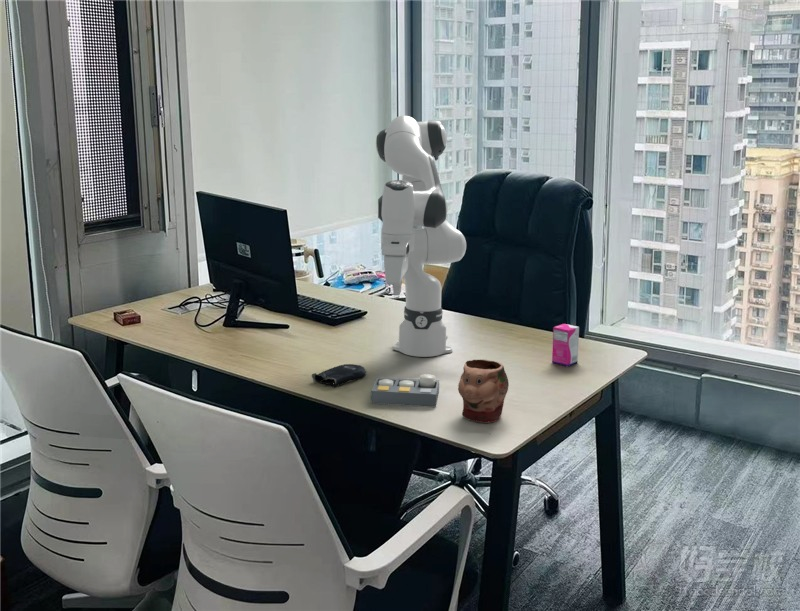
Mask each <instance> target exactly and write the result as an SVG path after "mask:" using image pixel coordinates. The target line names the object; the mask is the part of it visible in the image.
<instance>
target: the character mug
mask: <svg viewBox="0 0 800 611" xmlns="http://www.w3.org/2000/svg"><path fill="white" fill-rule="evenodd" d="M509 384H510V383H509V377H508V374H507V373H506V370H505V366H504V365H503V363H501V362H499V361H495V360H489V359H483V358H482V359H470V360H467V361H466V362H464V366H463V371H462V373H461V376H460V379H459V381H458V385H457V386H458V387H457V390H458V393H459V395H460V397H461V398H462V401H463V402H462V403H463V404H462V406H463V408H462V414H461V415H462V416H463V418H465V419H466V420H469V421H471V422H472V421H473V422H476V423H486V424H487V423H489V424H490V423H495V422H497V421H498V420H500V417H501V416H502V413H503V408H504V402H505V399H506V396H507V394H508V392H509Z"/></svg>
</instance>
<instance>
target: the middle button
mask: <svg viewBox="0 0 800 611" xmlns="http://www.w3.org/2000/svg"><path fill="white" fill-rule="evenodd" d="M399 386H403V387H414V382H413V381H409V380H404V381H400V382H399Z"/></svg>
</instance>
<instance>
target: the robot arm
mask: <svg viewBox="0 0 800 611" xmlns="http://www.w3.org/2000/svg"><path fill="white" fill-rule="evenodd" d="M447 141H448V134H447V131H446V129H445V127H444V125H443V123H442V122H440V120H437V119H436V120H435V119H428V120H426V121H417V120H416V119H415V118H413V117H412V116H409V115H399V116H396V117H395V118H393V119H392V121H390V123H389V125H388V127H386V128H385V129H382V130H381V131H379V132H378V133H377V135H376V141H375V149H376V153H377V154H378V156H379V159H380V160H382V161H383V162H385V163H386V165H387V166H388V167H389V168H390V170H392V171H393V172H394V173H396V174H399V175H402V178H401V179H396V180H395V179H394V180H389V181H387V182H386V183H385V184H384V186H383V192H382V195H381V196H380V197H379V198H378V200H377V206H378V207H377V208H378V211H377V212H378V213H377V218H378V219H379V220H380V221H381V223H382V225H381V226H382V227H381V231H380V232H381V235H380V236H381V239H380V241H381V242H380V244H381V245H380V246H381V247H380V250H381V255H382V256H383V263H384V264H383V265H384V279H385V283H386V285H387V286H388V285H390V286H392V291H393V292H392V294H393V295H394V296H400V295H401V292H402V283H403V282H404V288H405V305H404V310H403V318H404V319H403V320H402V321H401V323H399V324H398V325H399V326H398V341H397V342H395V344H394V345H392V350H395V351H397V352H400V353H402V354H404V355H407V356H411V357H419V358H420V357H422V358H423V357H424V358H427V357H437V356H440V355H443V354H451V353H452V352H453V348H452V346H451V344H450V341H449V339H448V335H447V326H446V324H445V323H444V322H443V307H442V288H443V287H442V283H441V282H440V280H439V279H438V278H436V276H434V275H431V274H429V273H427V272H425V271H424V270H423V269H424V268H423V266H424V265H444V264H445V265H447V264H451V263H455V262H459V261H461V260H462V259H463V257H464V256H465V254H466V250H467V241H466V237H465V235H464V234H463V233H462V232H461V231H460V230H459V229H457V228H456V227H455V226H453V225H451V223H450V222H449V221H448V220H447V217H448V216H447V215H448V203H447V199H446V196H445V194H444V192H443V189H442V184H441V180H440V176H439V173H438V168H437V165H436V161H438V160H439V157H440V156H441V155H442V154H443V153H444V151H445V149H446V147H447ZM415 227H422V228H415Z"/></svg>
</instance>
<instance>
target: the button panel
mask: <svg viewBox="0 0 800 611" xmlns="http://www.w3.org/2000/svg"><path fill="white" fill-rule="evenodd" d="M383 379H389V380H392V381H393V386H384V385H379V381H380V380H383ZM404 380H409V381H413V382H414V387H403V386H399V382H400V381H404ZM370 391H371V392H370V393H371V395H370V396H371V397H370V398H371V400H370V402H371V404H377V405H393V406H412V407H428V408H430V407H432V408H436V407H437V403H438V398H439V394H440V380H438V379H437V380H436V379H435V386H434V387H432V388H423V387H421V386H420V378H405V377H404V378H401V377H399V378H398V377H386V376H385V377H383V376H381V377H380V376H377V378H376V379H375V381H374V384H373V387H372V389H371V390H370Z"/></svg>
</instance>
